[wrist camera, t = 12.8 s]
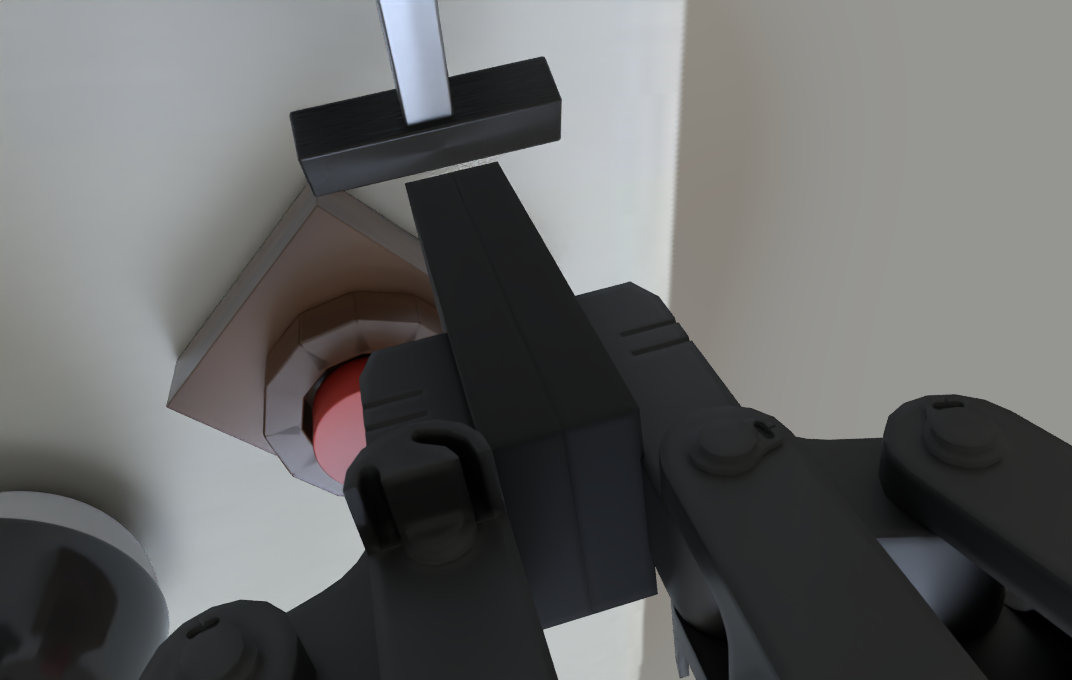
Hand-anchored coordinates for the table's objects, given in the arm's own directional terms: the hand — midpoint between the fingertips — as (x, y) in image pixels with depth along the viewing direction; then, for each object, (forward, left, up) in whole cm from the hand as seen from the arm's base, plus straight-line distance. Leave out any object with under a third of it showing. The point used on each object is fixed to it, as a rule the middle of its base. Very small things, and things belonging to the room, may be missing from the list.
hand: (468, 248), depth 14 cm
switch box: (+5, -9, -14) cm, 17 cm away
